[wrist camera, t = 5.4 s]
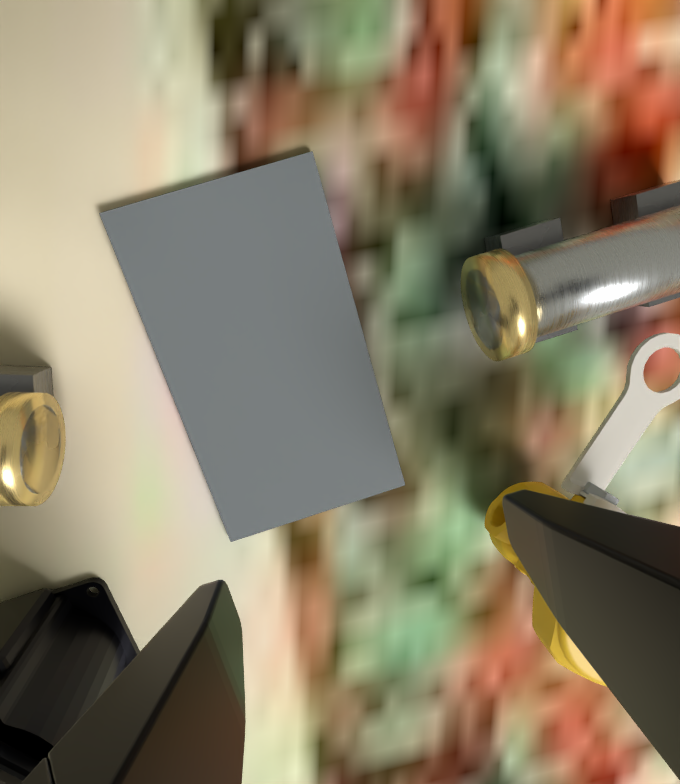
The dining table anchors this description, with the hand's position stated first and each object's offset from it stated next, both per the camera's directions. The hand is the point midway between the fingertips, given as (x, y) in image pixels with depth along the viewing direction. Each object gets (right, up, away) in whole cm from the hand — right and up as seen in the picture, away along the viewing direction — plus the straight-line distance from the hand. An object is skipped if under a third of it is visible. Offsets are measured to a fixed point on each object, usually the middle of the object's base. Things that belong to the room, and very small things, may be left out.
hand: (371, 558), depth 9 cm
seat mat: (-3, +4, +11) cm, 13 cm away
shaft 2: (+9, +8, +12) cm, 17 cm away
